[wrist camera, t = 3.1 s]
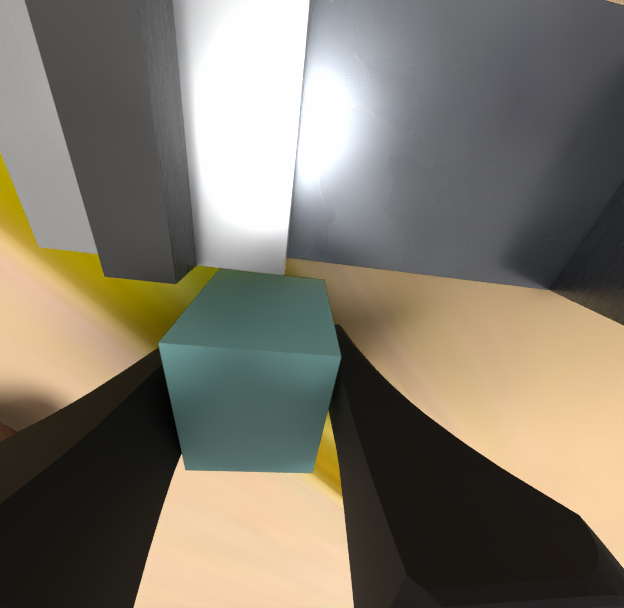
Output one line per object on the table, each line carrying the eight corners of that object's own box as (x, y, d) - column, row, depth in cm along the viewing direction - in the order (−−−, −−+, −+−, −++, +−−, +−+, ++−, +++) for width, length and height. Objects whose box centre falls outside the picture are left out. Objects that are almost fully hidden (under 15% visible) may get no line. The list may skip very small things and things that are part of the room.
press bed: (722, 59, 7) (1075, -35, 4) (563, 285, 10) (679, 335, 7) (-2, -130, 5) (-527, -654, 2) (96, 226, 8) (-26, 259, 5)
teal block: (324, 279, 9) (341, 356, 6) (308, 372, 12) (312, 473, 8) (219, 268, 9) (158, 343, 5) (225, 367, 11) (185, 469, 7)
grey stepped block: (316, -48, 5) (348, -448, 2) (288, 244, 8) (280, 295, 5) (43, -118, 4) (-634, -886, 1) (121, 223, 7) (-18, 263, 4)
